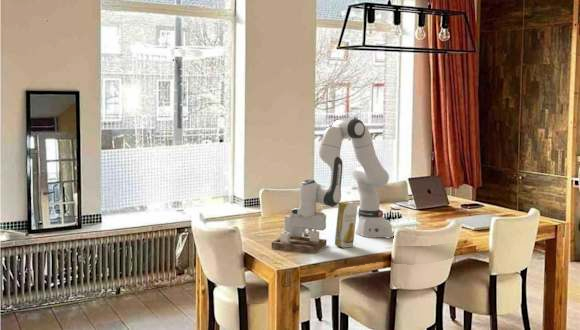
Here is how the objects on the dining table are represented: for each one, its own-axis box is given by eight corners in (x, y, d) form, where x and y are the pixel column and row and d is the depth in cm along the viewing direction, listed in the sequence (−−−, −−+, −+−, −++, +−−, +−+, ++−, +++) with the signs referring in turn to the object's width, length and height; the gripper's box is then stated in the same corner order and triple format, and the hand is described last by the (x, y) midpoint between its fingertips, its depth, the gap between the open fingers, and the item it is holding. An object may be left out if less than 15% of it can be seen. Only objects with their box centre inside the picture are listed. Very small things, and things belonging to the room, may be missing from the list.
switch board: (326, 245, 341) (326, 239, 341) (315, 253, 325) (315, 247, 324) (284, 240, 350) (284, 234, 349) (271, 248, 333) (271, 242, 333)
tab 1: (289, 244, 336) (290, 231, 335) (287, 246, 333) (287, 232, 332) (282, 243, 337) (283, 230, 336) (280, 245, 334) (280, 231, 333)
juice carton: (342, 248, 334) (347, 203, 330) (332, 244, 340) (336, 200, 336) (355, 246, 340) (360, 202, 336) (344, 242, 346) (349, 199, 342)
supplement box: (302, 238, 354) (303, 216, 352) (292, 240, 349) (292, 217, 347) (294, 236, 359) (294, 213, 358) (284, 237, 355) (284, 215, 353)
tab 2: (319, 243, 340) (319, 229, 339) (316, 244, 336) (317, 231, 335) (311, 242, 341) (312, 229, 340) (309, 244, 338) (310, 230, 337)
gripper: (328, 211, 337) (327, 237, 338) (292, 207, 344) (291, 233, 346) (324, 214, 331) (323, 240, 333) (287, 210, 339) (286, 235, 340)
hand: (306, 236), depth 339 cm, fingers closed
